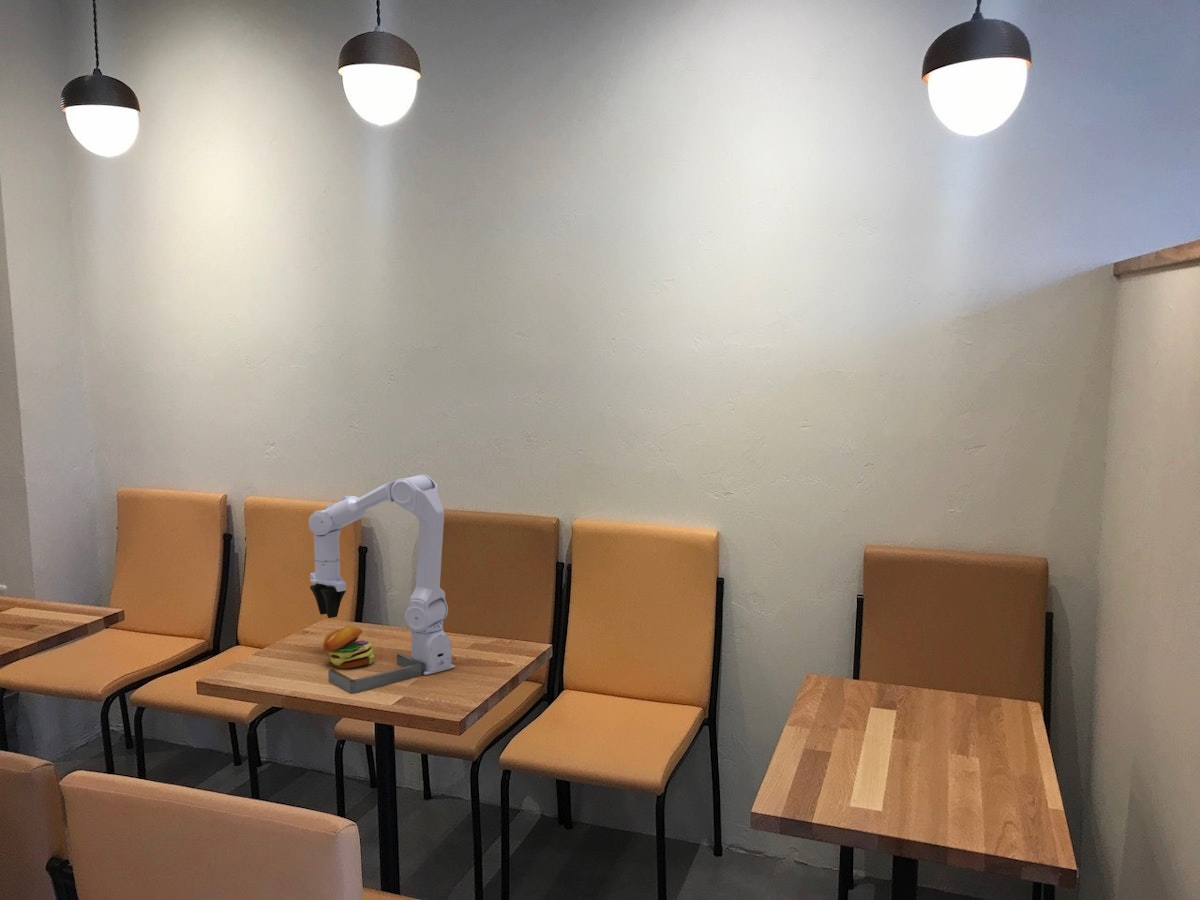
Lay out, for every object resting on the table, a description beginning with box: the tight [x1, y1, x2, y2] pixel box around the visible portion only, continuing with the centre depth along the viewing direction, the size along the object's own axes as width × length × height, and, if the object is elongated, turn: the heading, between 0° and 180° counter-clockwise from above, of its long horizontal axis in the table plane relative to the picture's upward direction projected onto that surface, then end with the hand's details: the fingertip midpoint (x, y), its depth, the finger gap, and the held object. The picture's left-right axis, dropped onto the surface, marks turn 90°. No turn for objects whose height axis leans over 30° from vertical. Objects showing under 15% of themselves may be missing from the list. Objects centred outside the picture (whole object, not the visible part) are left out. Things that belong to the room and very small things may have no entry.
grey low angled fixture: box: [327, 652, 425, 695], centre depth 207 cm, size 10×18×2 cm, turn 133°
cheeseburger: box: [322, 624, 376, 670], centre depth 217 cm, size 10×11×10 cm
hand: (328, 615), depth 223 cm, fingers open, 3 cm apart
